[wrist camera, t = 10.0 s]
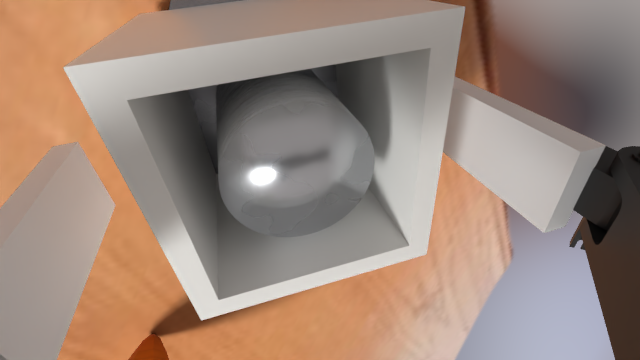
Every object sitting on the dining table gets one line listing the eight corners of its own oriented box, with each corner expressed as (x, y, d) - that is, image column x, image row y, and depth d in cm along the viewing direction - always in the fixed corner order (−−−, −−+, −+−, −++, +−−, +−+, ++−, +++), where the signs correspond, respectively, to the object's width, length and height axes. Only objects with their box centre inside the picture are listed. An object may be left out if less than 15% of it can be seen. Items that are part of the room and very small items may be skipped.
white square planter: (139, 13, 12) (62, 67, 6) (349, -14, 14) (465, 6, 7) (205, 189, 17) (201, 320, 11) (354, 155, 19) (426, 254, 12)
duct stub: (139, 156, 16) (95, 273, 10) (186, -71, 12) (160, -106, 6) (314, 194, 20) (358, 292, 14) (393, 39, 16) (501, 84, 10)
